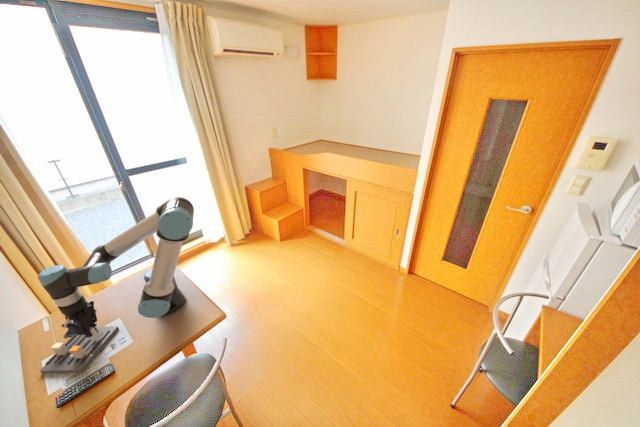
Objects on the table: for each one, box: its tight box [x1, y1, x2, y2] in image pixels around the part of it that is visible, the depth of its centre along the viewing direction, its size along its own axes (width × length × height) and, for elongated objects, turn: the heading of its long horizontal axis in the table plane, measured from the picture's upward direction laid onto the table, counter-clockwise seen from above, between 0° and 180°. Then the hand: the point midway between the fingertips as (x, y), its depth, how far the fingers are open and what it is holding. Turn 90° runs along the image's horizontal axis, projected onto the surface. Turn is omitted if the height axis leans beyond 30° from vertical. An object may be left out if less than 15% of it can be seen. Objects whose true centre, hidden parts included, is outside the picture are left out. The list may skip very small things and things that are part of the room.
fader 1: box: [50, 342, 69, 356], centre depth 100 cm, size 3×2×5 cm
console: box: [39, 326, 119, 375], centre depth 104 cm, size 16×20×3 cm
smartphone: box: [63, 308, 97, 338], centre depth 117 cm, size 7×1×15 cm
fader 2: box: [69, 346, 86, 359], centre depth 99 cm, size 3×2×5 cm
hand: (95, 338), depth 106 cm, fingers closed
